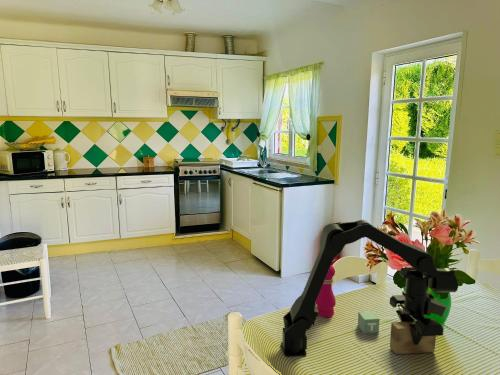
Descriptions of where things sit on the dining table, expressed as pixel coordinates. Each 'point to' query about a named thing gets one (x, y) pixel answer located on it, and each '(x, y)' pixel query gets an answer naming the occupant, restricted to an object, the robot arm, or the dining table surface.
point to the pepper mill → (326, 296)
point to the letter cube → (368, 322)
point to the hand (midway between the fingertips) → (412, 340)
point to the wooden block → (409, 340)
